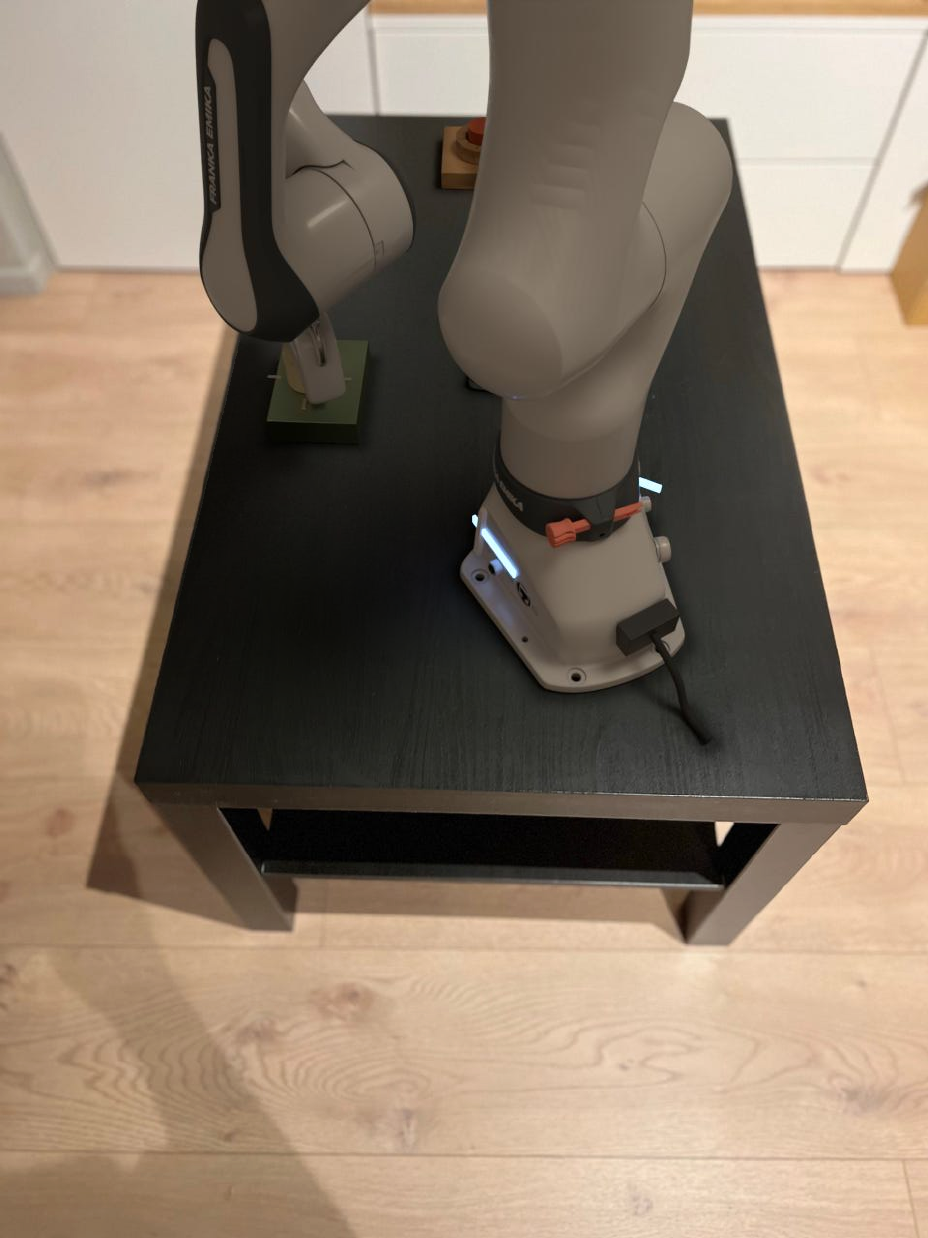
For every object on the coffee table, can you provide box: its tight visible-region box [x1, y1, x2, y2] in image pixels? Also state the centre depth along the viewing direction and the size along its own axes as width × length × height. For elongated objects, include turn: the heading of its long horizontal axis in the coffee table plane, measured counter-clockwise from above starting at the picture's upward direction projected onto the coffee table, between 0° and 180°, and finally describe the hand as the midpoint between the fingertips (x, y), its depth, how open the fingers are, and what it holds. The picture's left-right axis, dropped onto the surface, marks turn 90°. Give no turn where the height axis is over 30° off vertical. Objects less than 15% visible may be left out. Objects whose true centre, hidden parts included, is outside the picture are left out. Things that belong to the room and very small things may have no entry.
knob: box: [283, 346, 305, 393], centre depth 99 cm, size 4×4×4 cm
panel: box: [266, 339, 372, 445], centre depth 102 cm, size 12×10×3 cm
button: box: [467, 116, 486, 146], centre depth 122 cm, size 4×4×2 cm
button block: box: [440, 122, 482, 190], centre depth 124 cm, size 10×10×4 cm
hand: (308, 371), depth 100 cm, fingers closed on knob, 4 cm apart
